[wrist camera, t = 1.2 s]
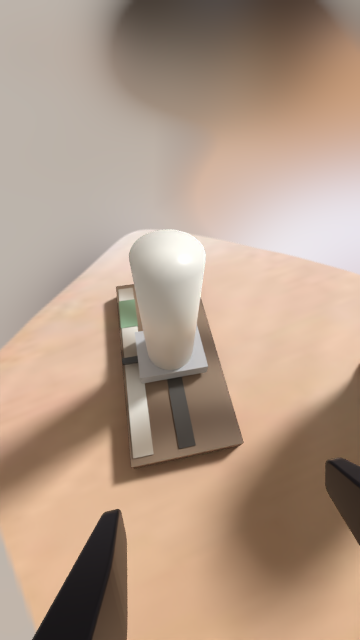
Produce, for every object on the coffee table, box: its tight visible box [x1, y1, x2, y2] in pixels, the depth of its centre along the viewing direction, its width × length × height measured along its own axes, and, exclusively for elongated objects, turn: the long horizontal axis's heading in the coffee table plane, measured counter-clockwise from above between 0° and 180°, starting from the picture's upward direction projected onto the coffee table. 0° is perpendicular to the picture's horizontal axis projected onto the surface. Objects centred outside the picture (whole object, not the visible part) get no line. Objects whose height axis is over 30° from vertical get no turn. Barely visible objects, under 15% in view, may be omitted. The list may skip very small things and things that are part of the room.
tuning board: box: [116, 284, 244, 469], centre depth 23 cm, size 16×8×2 cm, turn 11°
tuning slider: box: [122, 229, 208, 384], centre depth 17 cm, size 4×6×11 cm, turn 101°
